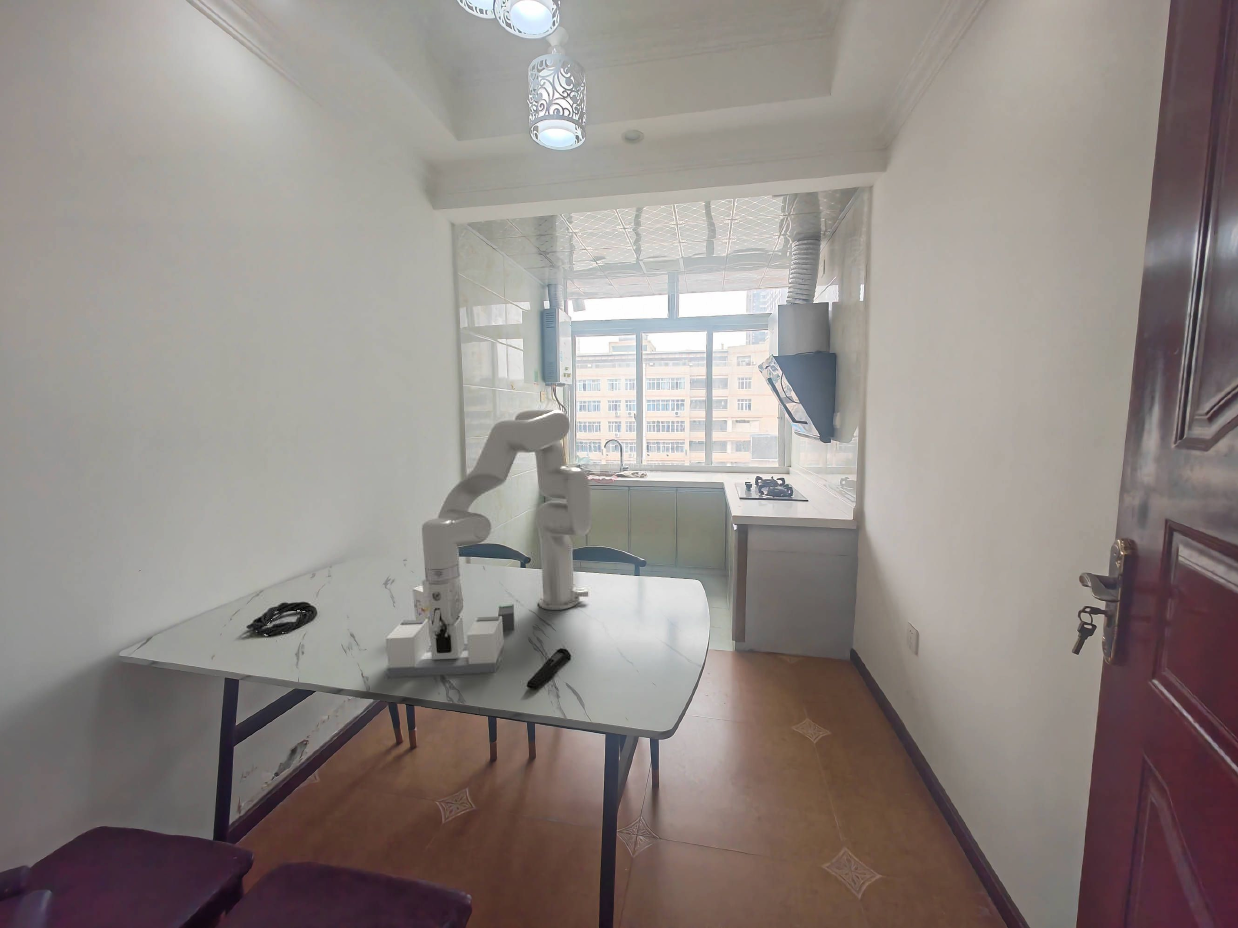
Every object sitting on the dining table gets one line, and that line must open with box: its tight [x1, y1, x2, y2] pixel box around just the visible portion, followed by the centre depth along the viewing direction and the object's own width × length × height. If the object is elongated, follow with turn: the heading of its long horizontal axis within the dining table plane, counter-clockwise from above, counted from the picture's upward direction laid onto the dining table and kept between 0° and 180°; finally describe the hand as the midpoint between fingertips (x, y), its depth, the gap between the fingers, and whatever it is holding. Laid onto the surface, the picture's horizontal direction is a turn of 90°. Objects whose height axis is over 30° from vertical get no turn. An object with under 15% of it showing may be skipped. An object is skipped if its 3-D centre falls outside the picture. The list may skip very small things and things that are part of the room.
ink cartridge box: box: [412, 578, 431, 632], centre depth 129 cm, size 9×5×15 cm, turn 148°
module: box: [429, 615, 465, 660], centre depth 109 cm, size 6×5×8 cm
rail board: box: [385, 615, 505, 678], centre depth 109 cm, size 24×10×9 cm, turn 92°
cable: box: [246, 601, 318, 636], centre depth 134 cm, size 17×14×4 cm
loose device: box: [497, 603, 515, 633], centre depth 127 cm, size 4×6×5 cm, turn 12°
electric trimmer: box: [526, 647, 572, 690], centre depth 104 cm, size 4×16×3 cm, turn 157°
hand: (448, 645), depth 109 cm, fingers closed on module, 4 cm apart
